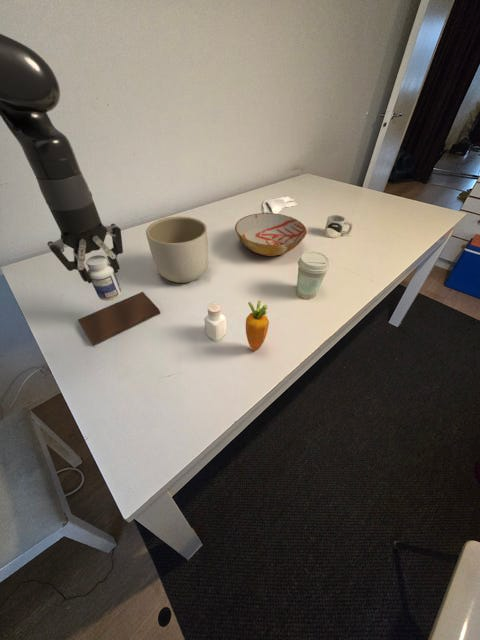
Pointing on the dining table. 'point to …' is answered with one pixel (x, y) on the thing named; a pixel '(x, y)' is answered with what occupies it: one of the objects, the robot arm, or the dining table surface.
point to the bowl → (270, 233)
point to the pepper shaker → (215, 322)
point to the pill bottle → (103, 278)
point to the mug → (336, 226)
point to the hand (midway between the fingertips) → (102, 276)
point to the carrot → (256, 326)
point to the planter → (179, 248)
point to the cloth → (277, 204)
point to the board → (118, 318)
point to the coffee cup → (311, 273)
